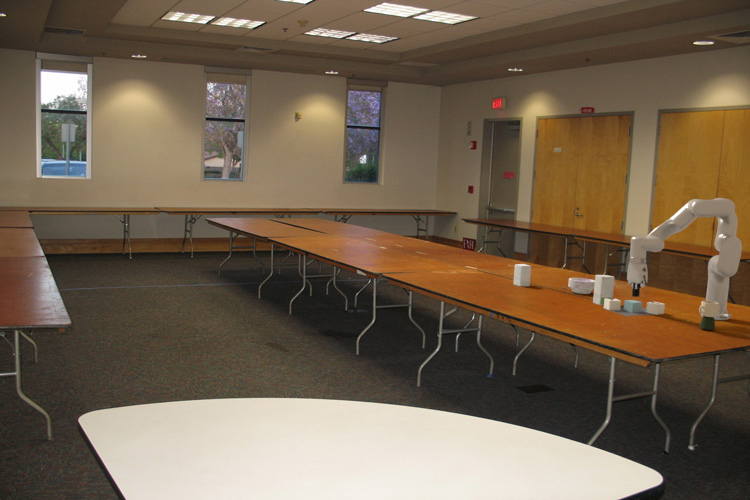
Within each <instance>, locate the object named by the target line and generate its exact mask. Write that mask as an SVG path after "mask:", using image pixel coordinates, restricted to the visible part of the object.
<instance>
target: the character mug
mask: <svg viewBox="0 0 750 500" xmlns="http://www.w3.org/2000/svg"><path fill="white" fill-rule="evenodd" d="M719 309H720V306H719V303H717V302H713V301H706V300H702V301H701V303H700V306H699V308H698V310H699V311H698V313H699V314H700V316H701V315H703V317H702V316H701V321H700V325H699V328H700V329H703V330H705V331H706V330H708V331H715V330H716V320H715V319H714V317H717V315H718V312H719Z"/></svg>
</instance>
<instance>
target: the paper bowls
mask: <svg viewBox="0 0 750 500" xmlns="http://www.w3.org/2000/svg"><path fill="white" fill-rule="evenodd" d="M567 286H568V288H570V289H571V291H572V293H574V294H578V295H589V294H591V293H592V291H594V286H595V279H589V278H585V277H584V278H582V277H569V278H568V285H567Z"/></svg>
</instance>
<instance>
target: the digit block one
mask: <svg viewBox="0 0 750 500" xmlns="http://www.w3.org/2000/svg"><path fill="white" fill-rule="evenodd" d="M665 307H666V303H662V302H658V301H649V302H648V301H647V302H646V307H645V309H646V312H648V313H652V314H656V315H664V314H665Z"/></svg>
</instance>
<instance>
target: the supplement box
mask: <svg viewBox="0 0 750 500" xmlns="http://www.w3.org/2000/svg"><path fill="white" fill-rule="evenodd" d="M531 272H532V265H528V264H527V263H526V264H525V263H520V264H519V263H518V264H517V263H516V264H514V271H513V285H515V286H518V287H530V286H531V277H532V276H531Z"/></svg>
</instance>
